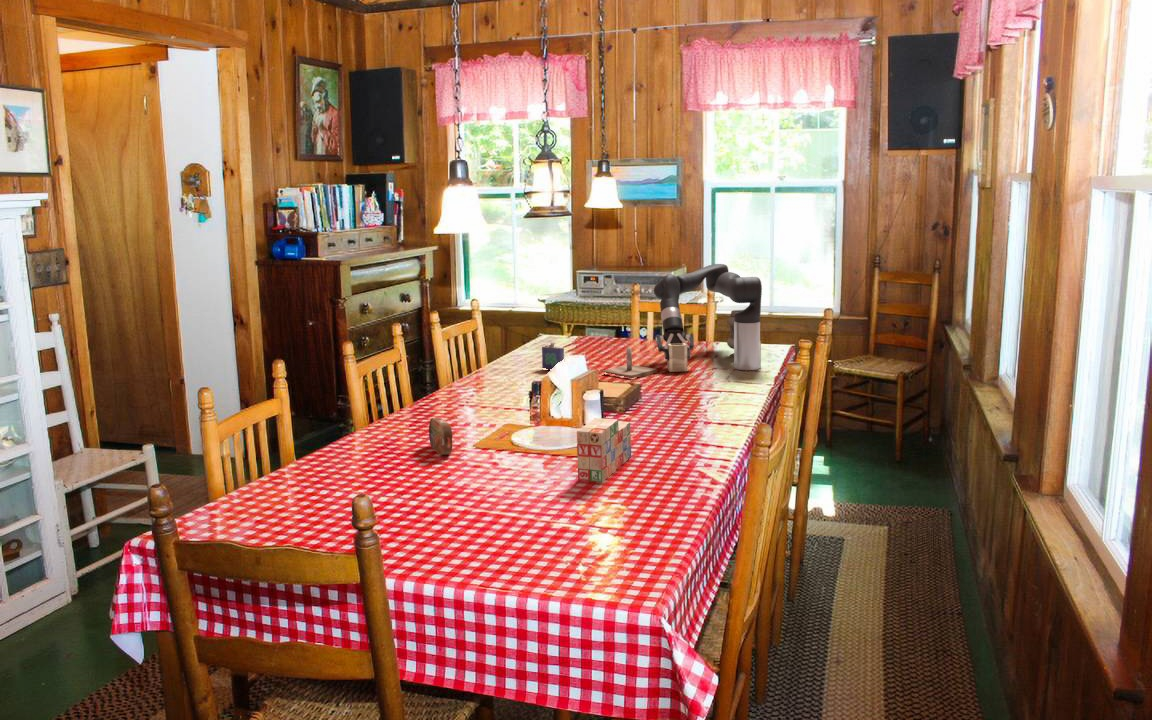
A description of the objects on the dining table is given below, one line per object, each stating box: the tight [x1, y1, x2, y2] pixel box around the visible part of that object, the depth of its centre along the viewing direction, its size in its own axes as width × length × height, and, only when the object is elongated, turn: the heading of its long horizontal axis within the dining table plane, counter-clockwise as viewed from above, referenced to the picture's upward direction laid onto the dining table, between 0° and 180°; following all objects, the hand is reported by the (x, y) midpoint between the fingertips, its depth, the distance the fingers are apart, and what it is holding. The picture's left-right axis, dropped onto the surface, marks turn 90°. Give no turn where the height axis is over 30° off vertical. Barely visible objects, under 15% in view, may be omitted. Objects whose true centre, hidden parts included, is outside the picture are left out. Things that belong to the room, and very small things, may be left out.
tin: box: [428, 417, 453, 456], centre depth 247 cm, size 15×3×8 cm, turn 23°
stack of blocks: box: [576, 417, 632, 483], centre depth 228 cm, size 21×6×12 cm, turn 158°
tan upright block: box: [666, 343, 688, 373], centre depth 339 cm, size 5×6×10 cm
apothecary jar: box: [726, 309, 743, 358], centre depth 362 cm, size 12×12×18 cm
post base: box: [601, 347, 658, 378], centre depth 336 cm, size 14×14×10 cm
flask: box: [541, 341, 565, 370], centre depth 346 cm, size 9×3×11 cm, turn 61°
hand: (677, 359), depth 337 cm, fingers closed on tan upright block, 6 cm apart
